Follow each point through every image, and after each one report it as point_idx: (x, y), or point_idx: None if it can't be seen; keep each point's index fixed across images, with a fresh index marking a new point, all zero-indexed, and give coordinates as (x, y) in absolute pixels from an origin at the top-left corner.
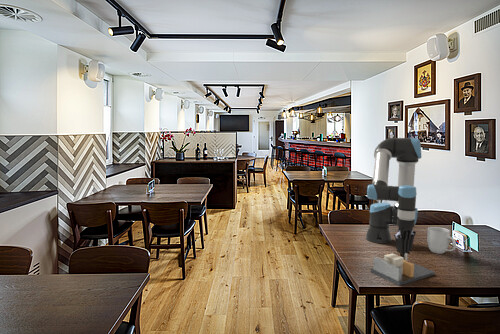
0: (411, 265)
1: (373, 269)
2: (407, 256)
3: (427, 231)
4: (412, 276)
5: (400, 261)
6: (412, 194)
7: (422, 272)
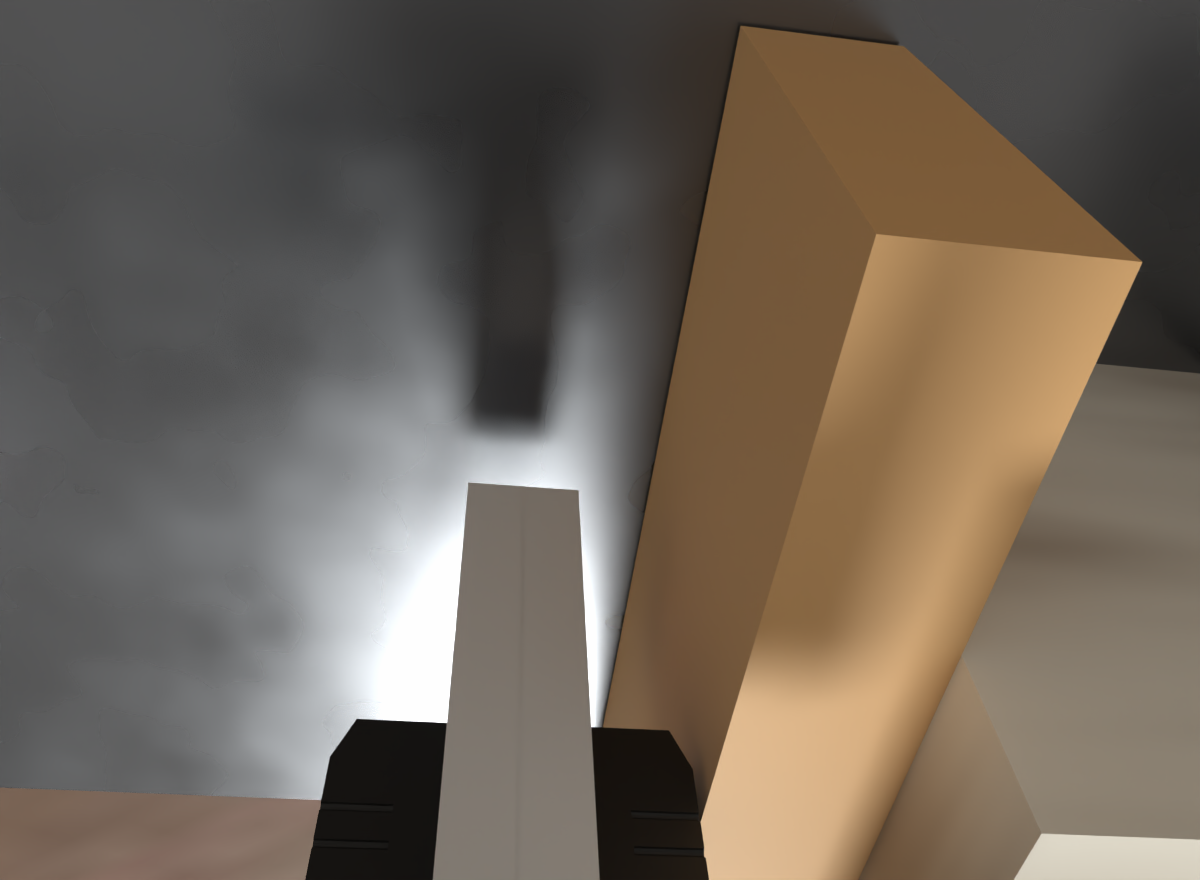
0: (1110, 241)
1: None
2: (333, 840)
3: None
4: (806, 38)
5: (1194, 706)
6: None
7: (42, 35)
